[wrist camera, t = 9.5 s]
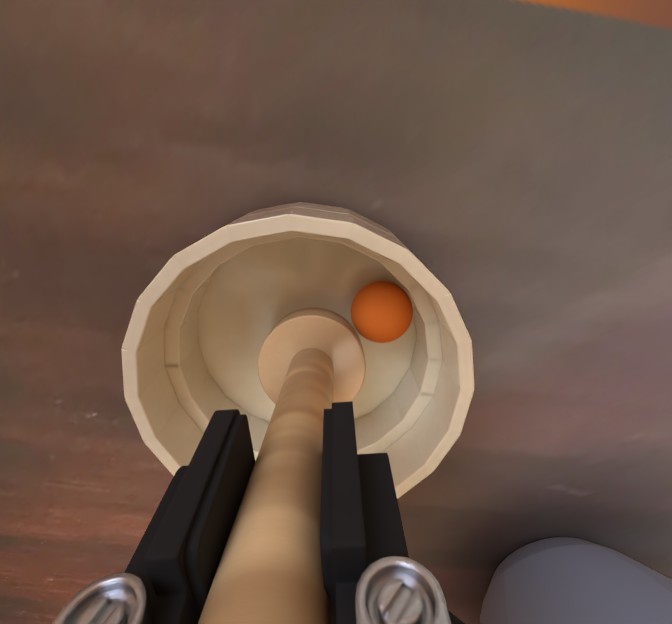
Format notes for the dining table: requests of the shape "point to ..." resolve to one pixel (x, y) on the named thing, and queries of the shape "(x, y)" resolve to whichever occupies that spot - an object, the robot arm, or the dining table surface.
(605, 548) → the vase
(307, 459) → the wooden stamp
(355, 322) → the orange ball
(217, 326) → the mixing bowl
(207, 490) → the robot arm
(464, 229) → the dining table surface
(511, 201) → the dining table surface
